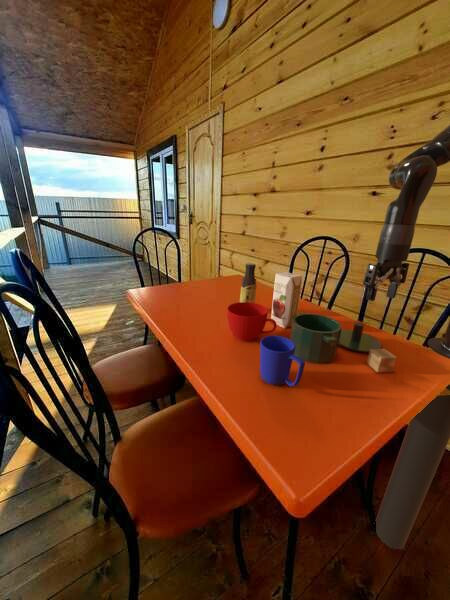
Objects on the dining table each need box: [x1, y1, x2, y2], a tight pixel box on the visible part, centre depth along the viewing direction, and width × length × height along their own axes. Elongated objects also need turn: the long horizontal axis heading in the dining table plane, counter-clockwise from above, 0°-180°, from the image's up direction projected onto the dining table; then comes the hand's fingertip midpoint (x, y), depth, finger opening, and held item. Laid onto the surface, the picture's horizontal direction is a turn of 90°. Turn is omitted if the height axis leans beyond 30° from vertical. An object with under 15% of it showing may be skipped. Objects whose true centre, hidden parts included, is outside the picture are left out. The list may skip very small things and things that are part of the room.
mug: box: [259, 335, 306, 387], centre depth 61 cm, size 8×12×10 cm
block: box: [366, 348, 398, 374], centre depth 69 cm, size 4×4×4 cm
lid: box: [338, 321, 382, 353], centre depth 82 cm, size 15×15×7 cm
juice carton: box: [270, 271, 303, 329], centre depth 93 cm, size 8×9×19 cm
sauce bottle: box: [239, 262, 257, 303], centre depth 104 cm, size 6×6×20 cm
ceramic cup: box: [226, 301, 278, 342], centre depth 82 cm, size 13×17×10 cm
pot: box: [289, 311, 343, 364], centre depth 76 cm, size 14×19×10 cm
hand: (380, 298), depth 73 cm, fingers open, 8 cm apart
